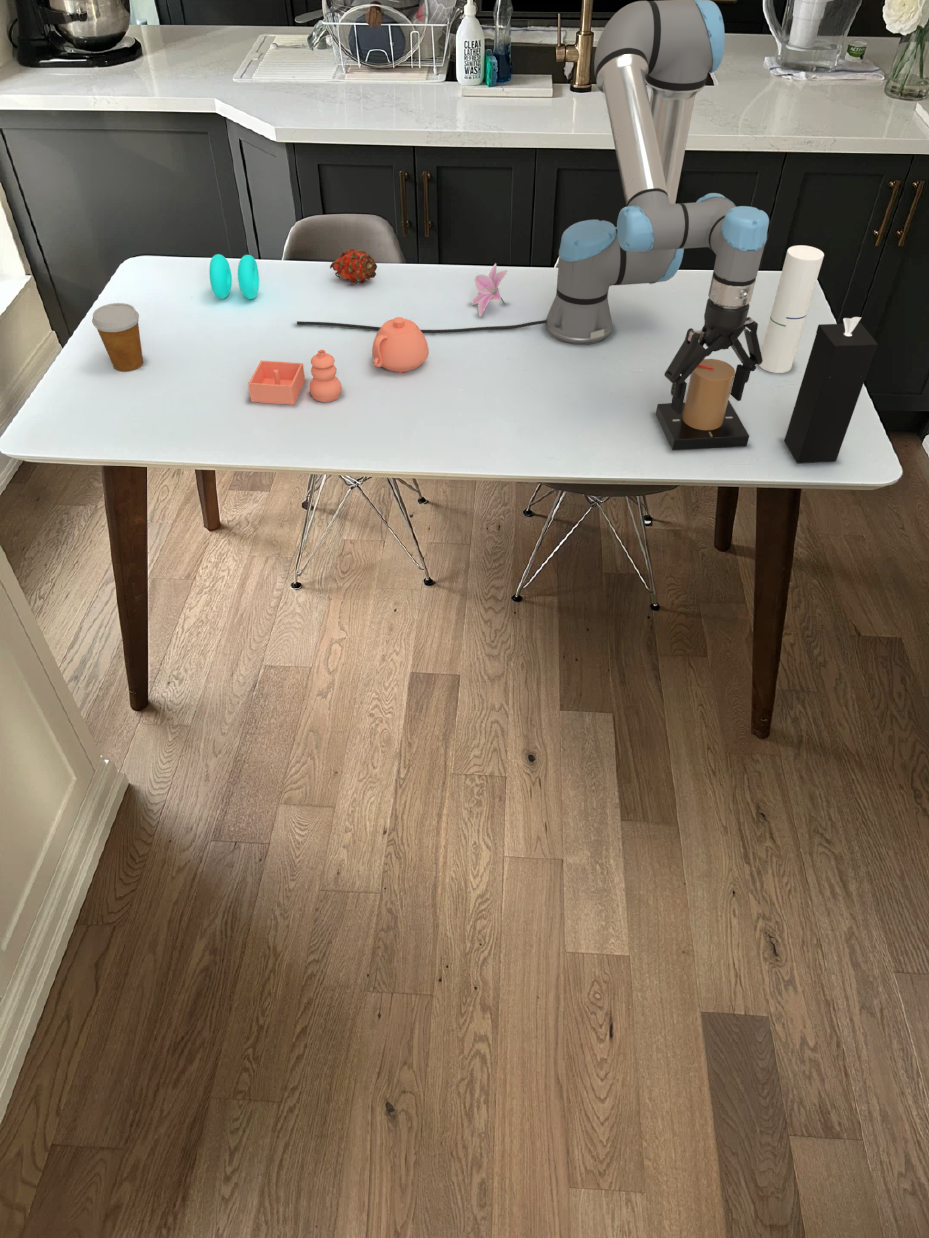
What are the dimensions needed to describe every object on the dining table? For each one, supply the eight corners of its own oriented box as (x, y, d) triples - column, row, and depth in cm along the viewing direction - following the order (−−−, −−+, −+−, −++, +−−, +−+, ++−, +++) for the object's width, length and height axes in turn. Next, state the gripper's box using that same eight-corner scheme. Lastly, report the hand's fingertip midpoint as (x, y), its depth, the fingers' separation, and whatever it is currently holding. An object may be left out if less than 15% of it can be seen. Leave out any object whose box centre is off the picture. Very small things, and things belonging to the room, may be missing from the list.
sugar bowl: (440, 362, 202) (439, 319, 195) (394, 386, 195) (392, 342, 188) (401, 343, 208) (399, 300, 201) (355, 366, 201) (351, 322, 194)
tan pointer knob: (726, 413, 184) (739, 362, 176) (717, 434, 179) (730, 382, 171) (687, 404, 186) (698, 354, 178) (677, 424, 181) (688, 373, 173)
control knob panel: (672, 450, 179) (674, 439, 177) (655, 414, 188) (657, 403, 186) (746, 446, 180) (749, 435, 178) (726, 410, 189) (729, 399, 188)
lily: (476, 296, 227) (461, 268, 219) (521, 281, 223) (507, 252, 215) (477, 332, 222) (460, 305, 214) (522, 318, 217) (508, 289, 210)
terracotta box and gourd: (251, 401, 190) (243, 358, 183) (263, 378, 197) (256, 335, 190) (336, 408, 189) (332, 365, 182) (346, 384, 195) (342, 341, 188)
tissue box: (783, 440, 182) (823, 307, 162) (821, 439, 182) (866, 305, 162) (796, 464, 176) (840, 328, 156) (836, 462, 177) (884, 326, 157)
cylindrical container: (792, 374, 200) (825, 262, 182) (758, 371, 201) (788, 258, 183) (790, 358, 205) (822, 247, 187) (757, 355, 206) (786, 244, 188)
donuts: (255, 306, 220) (248, 266, 213) (213, 306, 220) (205, 265, 213) (262, 287, 227) (255, 247, 220) (221, 287, 227) (214, 247, 220)
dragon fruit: (381, 291, 230) (336, 294, 232) (383, 259, 231) (338, 263, 234) (371, 273, 222) (324, 276, 224) (373, 240, 223) (326, 244, 226)
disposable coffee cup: (159, 359, 202) (146, 307, 194) (131, 379, 196) (116, 327, 187) (125, 349, 205) (111, 298, 196) (96, 369, 199) (80, 317, 190)
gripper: (679, 321, 159) (659, 426, 174) (799, 298, 166) (770, 401, 181) (657, 302, 164) (640, 406, 179) (775, 281, 171) (749, 382, 186)
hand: (705, 404), depth 180 cm, fingers open, 13 cm apart
